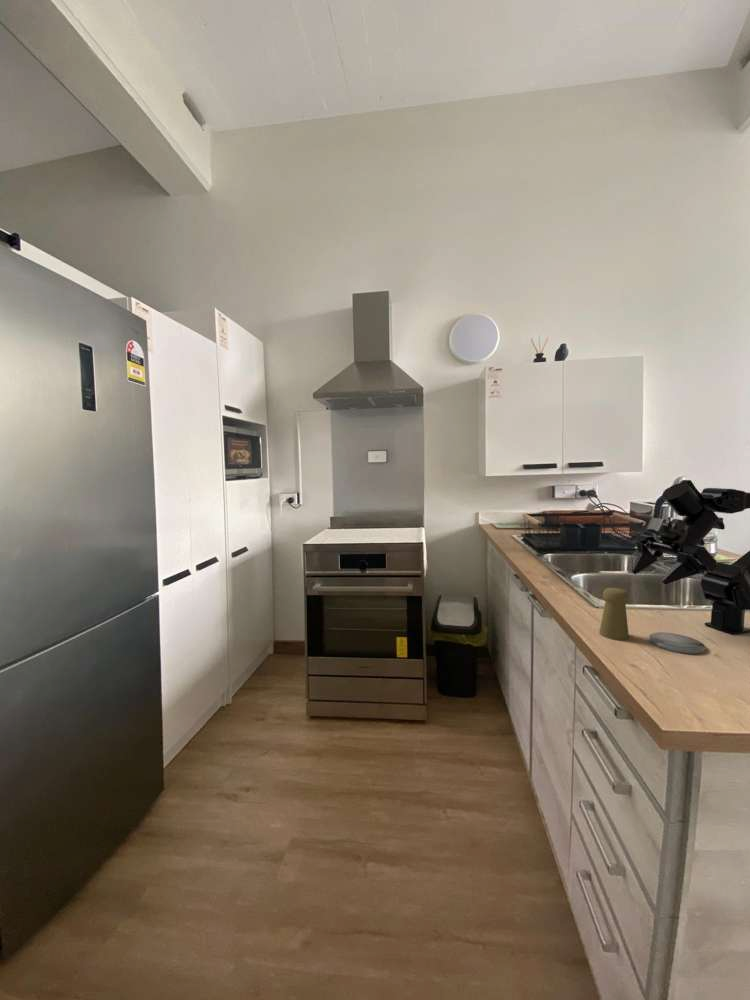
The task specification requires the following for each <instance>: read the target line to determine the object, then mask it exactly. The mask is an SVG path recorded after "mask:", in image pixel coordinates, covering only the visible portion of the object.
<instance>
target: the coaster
mask: <svg viewBox="0 0 750 1000" xmlns="http://www.w3.org/2000/svg"><path fill="white" fill-rule="evenodd" d="M648 639H649V640H648V641H649V642H650V643H651V644H653V646H656V647H658V648H659V649H662V650H666V651H669V652H672V653H677V654H683V655H701V654H703V653H705V650H706V645H705V644H704V643H702V642H701V641H700V640H698V639H696V638H692V637H691V636H688V635H687V636H686V635H683V634H679V633H673V632H672V633H671V632H660V631H659V632H653V633H650V634H649V638H648Z"/></svg>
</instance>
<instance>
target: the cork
mask: <svg viewBox="0 0 750 1000" xmlns="http://www.w3.org/2000/svg"><path fill="white" fill-rule="evenodd" d="M602 597H603V598H602V599H603V600H604V606H603V611H602V617H601V622H600V628H599V631H598V633H599V635H600V636H602V637H604V638H606V639H609V640H613V641H627V640H629V638H630V636H629V635H630V634H629V627H628V626H629V625H628V617H627V606H626V604H628V601H629V598H630V597H629V593H628V592H627V591H626V590H625V589H622V588H618V587H607V588H605V589H604V590H603V593H602Z"/></svg>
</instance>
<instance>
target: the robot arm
mask: <svg viewBox="0 0 750 1000" xmlns="http://www.w3.org/2000/svg"><path fill="white" fill-rule="evenodd" d="M661 496H662V499H663V500H664V501H665V502H666V503H667V505H668V506H669V507H670V508H671V509H672V510H673V512H674V513H675V514H676V515H677V516H680V517H684V518H682V519H679V518H677V519H676V518H673V519H672V520H669V519H665V518H658V517H651V518H650V521H649V522H648V524H647V526H646V528H645V529H646V531H647V532H651V533H653V534H656V535H657V539H658V540H659V541H660V542H661V543H659V542H658V541H657V539H655V538H654V537H653V536H651V535H646V534H637V535H636V536H635V537H634V538H633V539H632V542H633V544H634V546H635V547H636V548H637V554H636V557H635V560H634V564H633V566H632V568H631V573H633V575H637V574H638V573H640V572H642V571H643V570H645V569H647V568H649V567H650V566H652V565H653V564H654V563H656V562H658V558H660V557H662V555H664V554H665V555H670V556H673V557H676V562H675V563H674V564H673V565H672V567H671V568H670V569H669V570H668V571H667V572H666V574H665V575H664V576H663V578H662V579H661V582H662V584H663V585H668V584H671V583H674V582H676V581H679V580H682V579H686V578H688V577H692V576H695V575H699V574H701V575H702V577H701V580H700V585H701V589H702V593H703V597H704V599H705V600H709V601H711V602H712V606H711V607H712V608H711V610H710V611H711V613H710V621H708V622H704V625H705V626H707V627H709V628H713V629H715V630H718V631H721V632H724V633H727V634H729V635H730V634H731V635H736V634H742V633H744V632H745V633H749V632H750V628H748V627H745V615H746V614H745V613H746V611H750V550H748V551H747V552H746V553H745V554H743V555H741V556H740V557H739V558H738V559H737V560H736V561H734V562H733V563H731V564H728V563H725V562H724V563H722V562H717V560H716V559H715V556H713V555H712V554H711V552H710V551H709V550H708V549H707V548H706V547H705V546H704V545H705V544H706V541H705V540H704V538H706V537H707V535H708V534H709V533H710V532H711V531H712V530H713V529H717V530H722V531H724V530H725V528H726V527H725V524H724V518H723V517H719V516H718V515H717V514H716V513H719V514H721V513H722V514H730V515H731V514H736V513H741V512H743V511H745V510H747V509H750V492H746V491H744V490H740V489H736V488H735V489H734V488H722V487H706V488H703V490H701V492H700V491H699V490H698V489H697V488H696V486H695V484H694V482H693V481H692V480H690V479H682V480H681V481H680V482H678V483H675V484H672V485H671V486H669V487H667V488H665V489H664V490H663V493H662V494H661ZM704 573H705V574H704ZM703 574H704V575H703Z"/></svg>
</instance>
